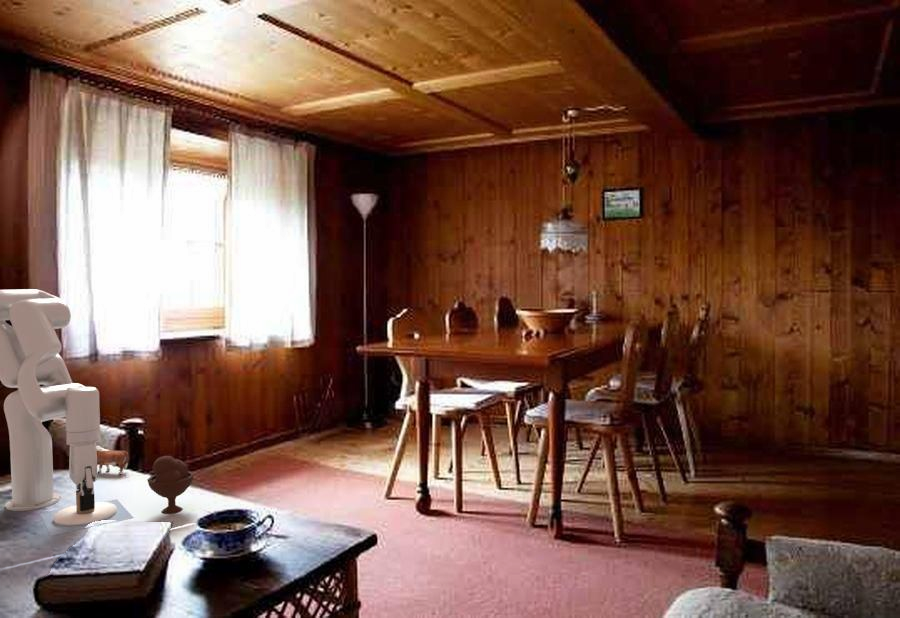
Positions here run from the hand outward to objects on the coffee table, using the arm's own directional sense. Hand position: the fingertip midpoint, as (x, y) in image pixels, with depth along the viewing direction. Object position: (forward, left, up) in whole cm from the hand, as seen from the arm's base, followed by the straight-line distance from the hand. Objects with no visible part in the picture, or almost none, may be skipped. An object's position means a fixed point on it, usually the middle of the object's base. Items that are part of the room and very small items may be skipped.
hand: (85, 506), depth 166 cm
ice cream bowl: (+10, +18, -3) cm, 21 cm away
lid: (0, 0, -2) cm, 2 cm away
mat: (0, 0, -3) cm, 3 cm away
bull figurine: (-40, +14, -3) cm, 42 cm away
